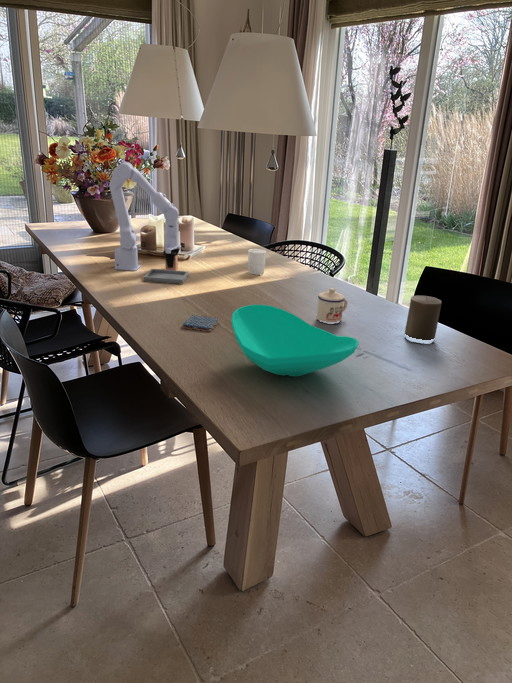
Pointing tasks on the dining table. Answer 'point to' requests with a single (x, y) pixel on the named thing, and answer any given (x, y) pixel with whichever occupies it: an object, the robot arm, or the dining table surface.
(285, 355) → the table top decor
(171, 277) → the grey tray
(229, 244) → the dining table surface
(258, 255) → the white cup
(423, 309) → the pillar candle
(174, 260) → the tan block
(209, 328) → the woven mat
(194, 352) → the dining table surface
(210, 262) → the dining table surface
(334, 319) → the teacup with lid
